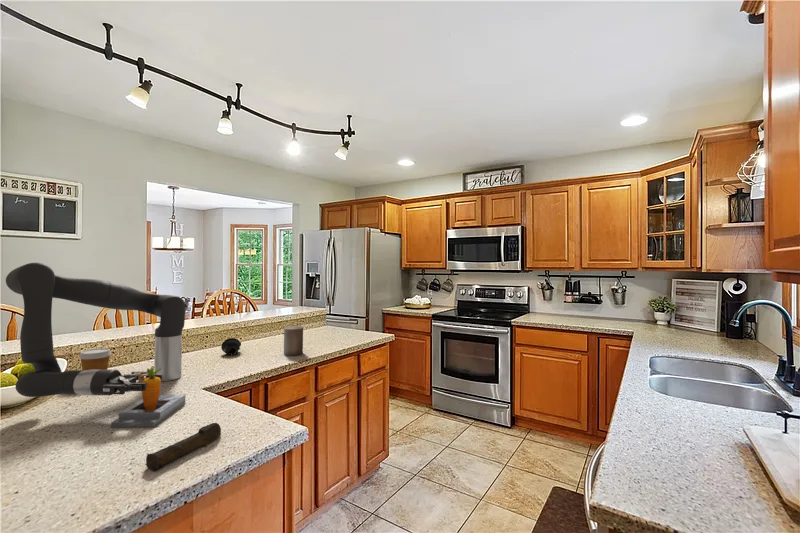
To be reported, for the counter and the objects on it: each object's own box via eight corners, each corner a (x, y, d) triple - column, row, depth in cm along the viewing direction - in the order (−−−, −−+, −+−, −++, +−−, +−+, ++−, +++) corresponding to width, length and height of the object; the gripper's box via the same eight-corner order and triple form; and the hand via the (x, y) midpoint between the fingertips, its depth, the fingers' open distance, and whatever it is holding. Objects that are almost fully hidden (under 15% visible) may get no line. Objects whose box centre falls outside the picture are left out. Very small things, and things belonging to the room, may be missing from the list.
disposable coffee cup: (92, 387, 136) (93, 354, 136) (71, 384, 138) (72, 352, 138) (117, 379, 145) (117, 348, 145) (97, 377, 147) (97, 347, 147)
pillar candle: (306, 353, 194) (307, 324, 194) (292, 356, 186) (292, 327, 186) (294, 350, 199) (294, 322, 199) (279, 354, 191) (279, 325, 191)
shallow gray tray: (149, 403, 122) (149, 394, 122) (185, 403, 123) (185, 394, 123) (110, 427, 104) (111, 417, 104) (153, 427, 105) (153, 417, 105)
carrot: (146, 411, 116) (148, 363, 116) (163, 411, 116) (165, 363, 116) (137, 418, 111) (138, 368, 111) (154, 418, 111) (156, 368, 111)
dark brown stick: (155, 474, 83) (155, 453, 83) (144, 469, 85) (144, 449, 85) (227, 439, 100) (227, 422, 100) (217, 436, 102) (217, 419, 102)
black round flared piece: (219, 348, 180) (216, 330, 195) (227, 365, 185) (224, 347, 200) (238, 340, 184) (234, 323, 198) (246, 357, 189) (242, 339, 203)
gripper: (79, 377, 105) (139, 377, 107) (114, 363, 120) (166, 363, 121) (79, 403, 105) (139, 403, 107) (113, 386, 120) (166, 386, 121)
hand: (153, 382), depth 114 cm, fingers open, 8 cm apart
